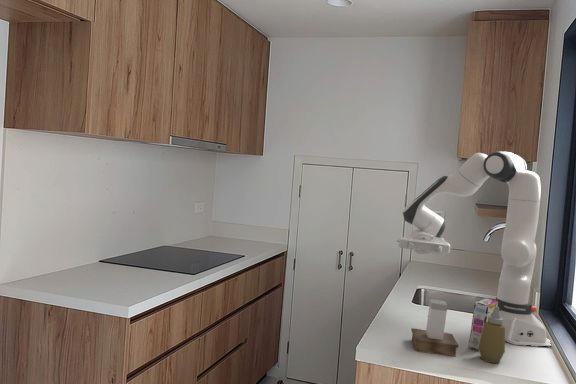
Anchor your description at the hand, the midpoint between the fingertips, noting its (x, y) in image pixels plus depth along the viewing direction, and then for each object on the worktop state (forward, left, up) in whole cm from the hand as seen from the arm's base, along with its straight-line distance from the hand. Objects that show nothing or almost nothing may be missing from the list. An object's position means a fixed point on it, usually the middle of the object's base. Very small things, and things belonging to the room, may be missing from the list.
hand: (426, 248), depth 205 cm
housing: (-2, +27, -26) cm, 38 cm away
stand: (-2, +27, -30) cm, 40 cm away
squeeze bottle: (-20, +31, -30) cm, 48 cm away
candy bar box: (-20, +18, -30) cm, 41 cm away
